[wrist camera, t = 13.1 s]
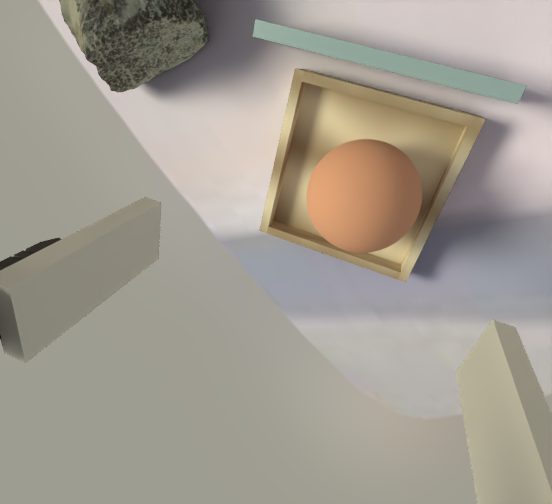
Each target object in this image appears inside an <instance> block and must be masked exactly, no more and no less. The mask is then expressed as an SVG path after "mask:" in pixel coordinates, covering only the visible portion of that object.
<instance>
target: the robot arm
mask: <svg viewBox="0 0 552 504" xmlns="http://www.w3.org/2000/svg"><path fill="white" fill-rule="evenodd" d="M160 219H161V202H157V201H155V200H152V199H149V198H146V197H144V198H142V199H140V200H138V201H136V202H134V203H132V204H130V205H128V206H126V207H124V208H122V209H120V210H118V211H117V212H114V213H112V214H111V215H109V216H107V217H105V218H103V219H101V220H99V221H97V222H95V223H93V224H91V225H89V226H87V227H85V228H83V229H81V230H79V231H77V232H75V233H73V234H71V235H69V236H68V237H66V238H63V239H60V238H55V239H51V240H47V241H43V242H40V243H38V244H35V245H33V246H31V247H30V248H27V249H26V251H21V252H19V253H17V254H15V255H14V257H9V258H7V259H5V260H3V261H1V262H0V339H1V342H2V346H3V350H4V353H5V354H7V355H9V356H11V357H13V358H16V359H18V360H20V361H22V362H24V363H26V362H27V361H29V360H30V359H31V358H33V357H34V356H35V355H37V354H38V353H39V352H40V351H41V350H43V349H44V348H46V347H47V346H48V345H49V344H51V343H52V342H53V341H54V340H56V339H57V338H58V337H59V336H61V335H62V334H63V333H65V332H66V331H67V330H68V329H69V328H71V327H72V326H73V325H75V324H76V323H77V322H79V321H80V320H81V319H82V318H83V317H85V316H86V315H87V314H89V313H90V312H91V311H92V310H94V309H95V308H96V307H98V306H99V305H100V304H101V303H103V302H104V301H105V300H106V299H108V298H109V297H110V296H112V295H113V294H114V293H115V292H117V291H118V290H119V289H120V288H122V287H123V286H124V285H126V284H127V283H128V282H129V281H131V280H132V279H133V278H135V277H136V276H137V275H138V274H140V273H141V272H142V271H143V270H144V269H146V268H147V267H149V266H150V265H151V264H152V263H154V262H155V261H156V260H157V259H159V239H160ZM456 376H457V382H458V388H459V394H460V400H461V406H462V412H463V418H464V424H465V431H466V437H467V443H468V449H469V455H470V461H471V467H472V473H473V479H474V485H475V492H476V498H477V503H478V504H552V413H551V411H550V409H549V406H548V404H547V401H546V399H545V397H544V394H543V392H542V389H541V387H540V385H539V382H538V380H537V377H536V375H535V373H534V370H533V368H532V365H531V363H530V361H529V358H528V356H527V354H526V351H525V349H524V346H523V344H522V342H521V339H520V337H519V334H518V332H517V330H516V328H515V327H513V326H510V325H507V324H504V323H501V322H498V321H496V320H492V321H491V323H490V324H489V326H488V327H487V328H486V330H485V331H484V333H483V334H482V336H481V337H480V338H479V340H478V341H477V343H476V344H475V346H474V347H473V348H472V350H471V351H470V353H469V354H468V356H467V357H466V358H465V360H464V361H463V363H462V364H461V366H460V367H459V368H458V370H457V371H456Z"/></svg>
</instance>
